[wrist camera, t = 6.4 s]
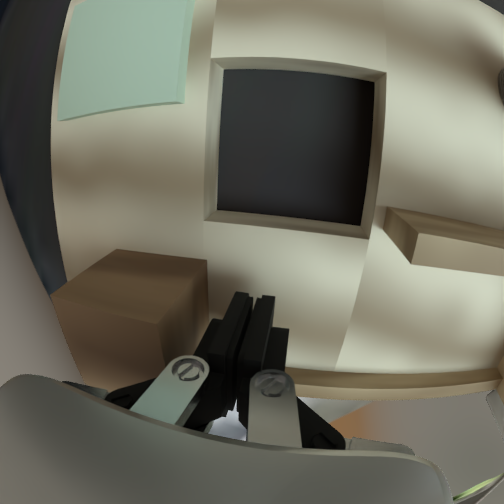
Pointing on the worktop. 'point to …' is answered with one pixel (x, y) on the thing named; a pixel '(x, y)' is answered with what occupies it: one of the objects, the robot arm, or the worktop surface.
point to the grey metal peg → (501, 84)
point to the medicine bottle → (497, 409)
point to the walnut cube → (133, 315)
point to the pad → (124, 56)
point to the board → (321, 232)
